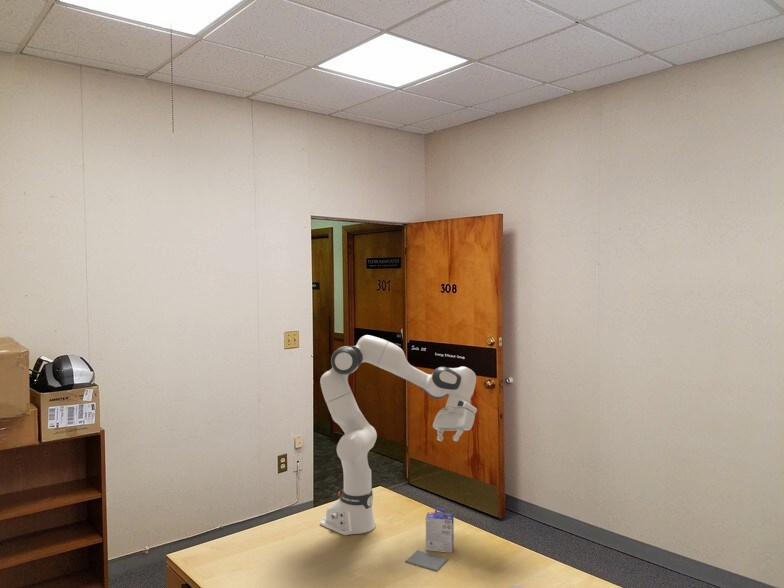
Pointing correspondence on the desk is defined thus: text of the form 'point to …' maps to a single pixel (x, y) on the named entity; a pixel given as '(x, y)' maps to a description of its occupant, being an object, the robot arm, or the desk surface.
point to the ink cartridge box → (439, 531)
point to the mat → (427, 560)
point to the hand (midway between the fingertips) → (447, 440)
